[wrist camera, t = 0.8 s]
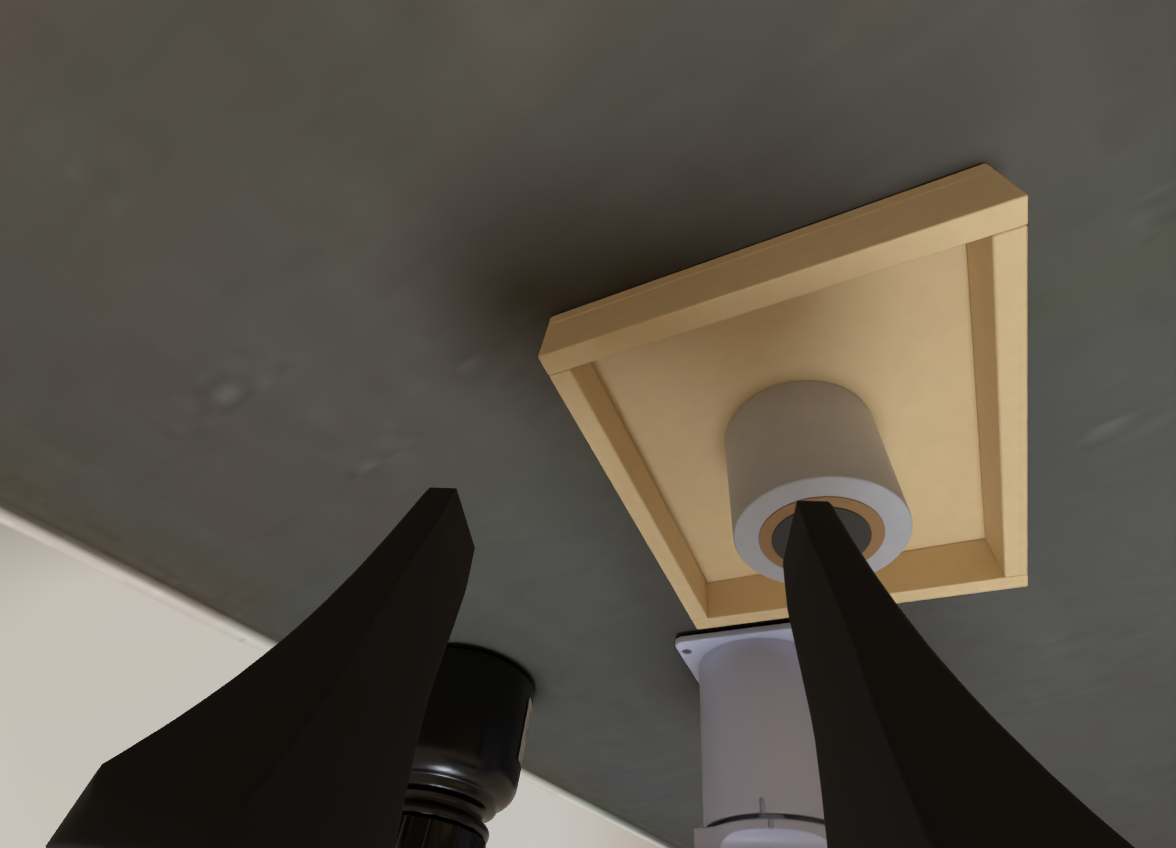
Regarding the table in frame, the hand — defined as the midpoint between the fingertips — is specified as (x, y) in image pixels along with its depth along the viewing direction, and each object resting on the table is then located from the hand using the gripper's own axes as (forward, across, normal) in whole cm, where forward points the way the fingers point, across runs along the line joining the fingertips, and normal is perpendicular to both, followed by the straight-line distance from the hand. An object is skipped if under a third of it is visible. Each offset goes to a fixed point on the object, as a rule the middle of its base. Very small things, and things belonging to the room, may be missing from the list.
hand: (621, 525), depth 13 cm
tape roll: (+9, -6, +5) cm, 12 cm away
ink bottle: (+10, +12, +28) cm, 32 cm away
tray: (+10, -6, +6) cm, 13 cm away
